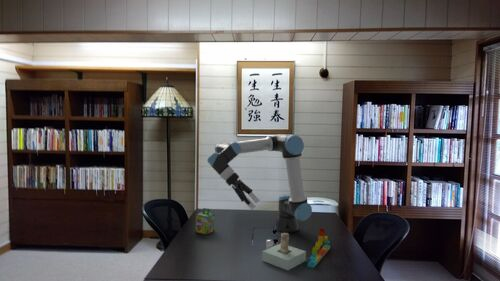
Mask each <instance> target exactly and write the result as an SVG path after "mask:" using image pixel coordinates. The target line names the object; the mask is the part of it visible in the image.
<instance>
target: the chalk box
mask: <svg viewBox="0 0 500 281" xmlns="http://www.w3.org/2000/svg"><path fill="white" fill-rule="evenodd" d="M210 211H211V210H210V208H205V207H204V208H203V209H202V212H200V213H197V214H196V215H195V231H194V233H197V234H202V235H206V236H207V235H209V234H211V233H213V232H215V220H216V214H215V213H214V212H210Z"/></svg>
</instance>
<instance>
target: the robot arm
mask: <svg viewBox="0 0 500 281" xmlns="http://www.w3.org/2000/svg"><path fill="white" fill-rule="evenodd" d="M304 149H305V144H304V141H303V139H302V137H300V136H299V135H296V134H288V133H287V134H286V133H279V134H274V135H270V136H269V135H267V136H266V137H265V138H258V139H250V140H249V139H248V140H242V141H234V140H233V141H232V142H225V143H224V142H219V143H216V145H215V147H214V151H215V152H213V153H212V154H211V155H210V156H209V157H208V158H207V162H208V165H210V167H211V168H212V169H214V171H215V172H216V173H217V174H218V175H219V177H220V179H223V181H225V183H226V184H227V185H228V186H229V187H231V189H233V190H234V192H235V194H236V195H237V196H238V198H239V200H240V202H244V203H245V205H247V207H248V208H250V209H251V211H253V210H254V209H255V208H256V207H257V206H256V205H255V204H257V203H259V202H260V199H259V198H258V196H256V194H254V193H253V189H252V188H251V187H249V186H248V185H247V184H246V183H244V181H242V180H241V179H239V178H240V175H239V174H237V172H235V170H234V168H232V167H231V166H230V164H229V163H230V162H231V161H233V160H234V159H235V158H236V157H238V156H239V155H240V154H247V153H248V154H249V153H256V152H262V151H268V152H278V153H279V152H280V153H281V155H282V158H283V159H284V160H285V165H286V173H287V181H288V188H289V194H281V195H279V197H278V211H277V212H278V213H277V214H278V216H277V219H276V221H275V226H274V228H275V230H276V231H278V232H281V233H295V232H298V231H299V226H298V221H301V222H304V221H306V220H308V219H309V218H310V216H312V213H313V208H312V205H311V204H310V203H308V197H307V196H306V195H305V190H304V184H303V175H302V168H301V160H300V158H301V157H302V153H303V150H304ZM246 194H247V195H248V197H247V195H246ZM249 197H250V198H251V200H252V201H253V202H252V201H251V200H250V198H249ZM254 203H255V204H254Z"/></svg>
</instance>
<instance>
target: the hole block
mask: <svg viewBox="0 0 500 281" xmlns="http://www.w3.org/2000/svg"><path fill="white" fill-rule="evenodd" d="M280 249H281V242H280V243H279V244H276V245H273V247H271V248H269V249H266V248H265V249H264V250H262V253H261V254H262V258H261V260H262V261H263V262H265V263H268V264H270V265H272V266H275V267H278V268H281V269H283V270H285V271H290V270H291V269H293V268H296V267H297V266H299V265H301V264H302V263H304V262H306V260H307V251H306V250H303V249H300V248H297V247H294V246H290V245H288V254H283V253H280Z"/></svg>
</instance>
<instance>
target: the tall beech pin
mask: <svg viewBox="0 0 500 281" xmlns="http://www.w3.org/2000/svg"><path fill="white" fill-rule="evenodd" d="M289 240H290V234H289V232H281V234H280V243H281V249H280V253H283V254H288V246H289Z"/></svg>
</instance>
